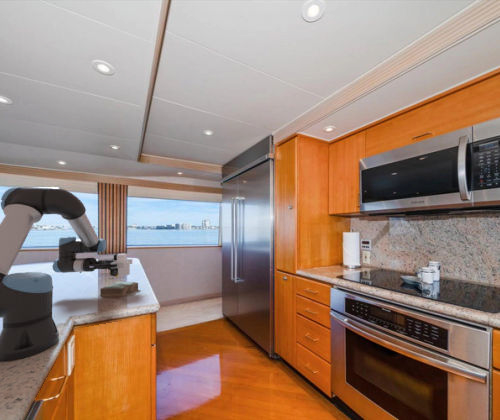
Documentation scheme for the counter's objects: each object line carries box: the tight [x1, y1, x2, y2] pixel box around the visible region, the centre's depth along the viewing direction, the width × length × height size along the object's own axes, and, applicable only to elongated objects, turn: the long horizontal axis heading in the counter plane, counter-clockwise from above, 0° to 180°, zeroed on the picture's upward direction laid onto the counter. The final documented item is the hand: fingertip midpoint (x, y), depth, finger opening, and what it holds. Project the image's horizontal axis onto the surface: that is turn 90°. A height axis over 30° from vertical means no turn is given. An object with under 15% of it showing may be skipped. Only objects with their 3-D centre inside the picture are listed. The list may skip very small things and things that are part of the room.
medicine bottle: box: [109, 252, 131, 278], centre depth 131 cm, size 7×7×12 cm
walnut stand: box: [100, 281, 139, 298], centre depth 131 cm, size 13×13×4 cm
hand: (128, 263), depth 132 cm, fingers closed on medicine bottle, 10 cm apart
